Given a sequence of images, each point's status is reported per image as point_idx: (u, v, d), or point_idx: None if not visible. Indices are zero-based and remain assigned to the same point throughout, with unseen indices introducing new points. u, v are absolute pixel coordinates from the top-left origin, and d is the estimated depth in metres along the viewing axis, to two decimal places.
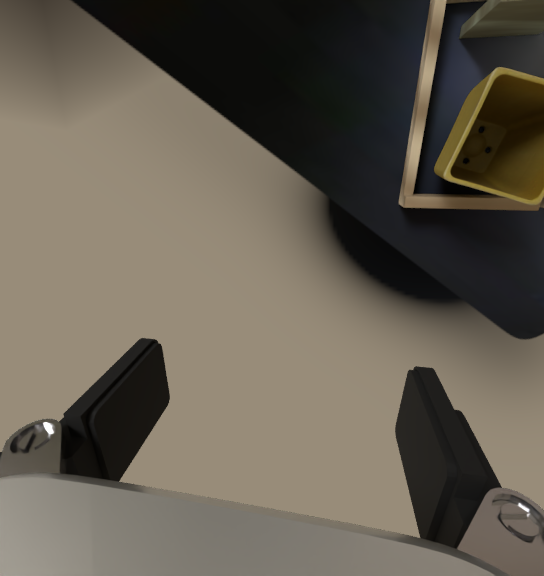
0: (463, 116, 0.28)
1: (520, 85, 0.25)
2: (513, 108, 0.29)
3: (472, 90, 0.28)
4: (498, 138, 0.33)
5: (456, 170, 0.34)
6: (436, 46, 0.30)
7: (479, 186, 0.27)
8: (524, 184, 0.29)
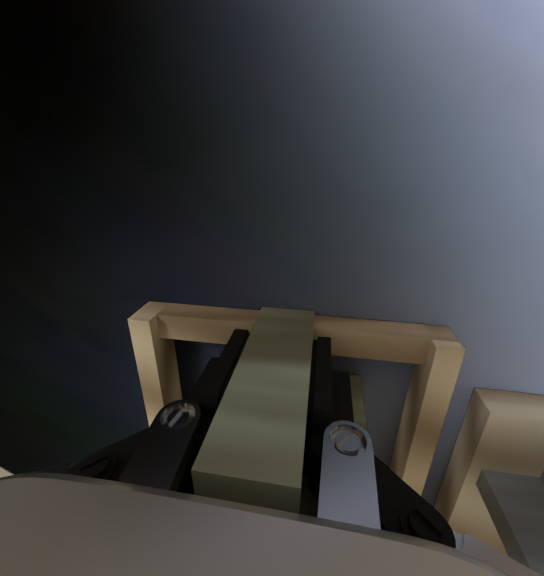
0: None
1: None
2: None
3: None
4: None
5: None
6: None
7: None
8: None
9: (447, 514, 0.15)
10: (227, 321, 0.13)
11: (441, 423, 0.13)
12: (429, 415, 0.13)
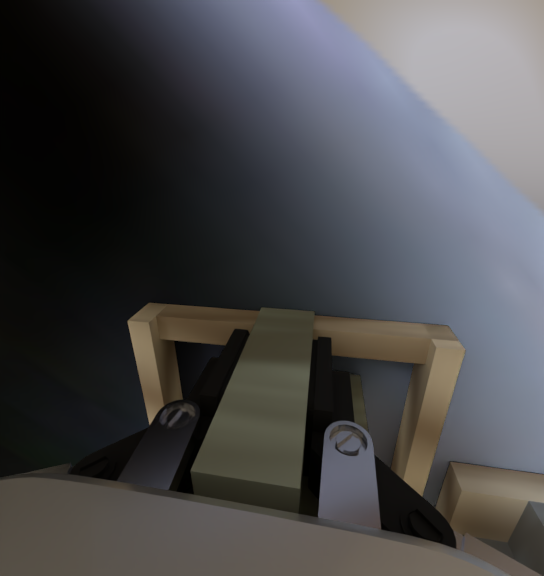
0: None
1: None
2: None
3: None
4: None
5: None
6: None
7: None
8: None
9: None
10: (227, 322, 0.13)
11: (442, 422, 0.13)
12: (429, 414, 0.13)
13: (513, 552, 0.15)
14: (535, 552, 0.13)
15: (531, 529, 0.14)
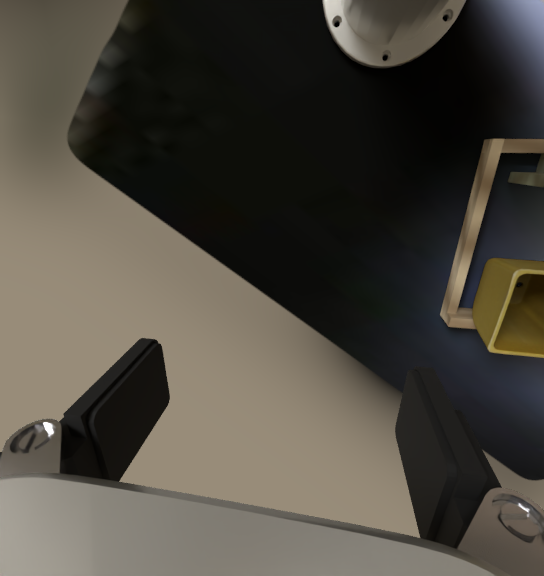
0: (492, 290, 0.31)
1: None
2: None
3: (495, 265, 0.31)
4: (527, 273, 0.35)
5: None
6: (487, 193, 0.31)
7: (524, 354, 0.30)
8: None
9: None
10: (539, 139, 0.29)
11: None
12: None
13: None
14: None
15: None
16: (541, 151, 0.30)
